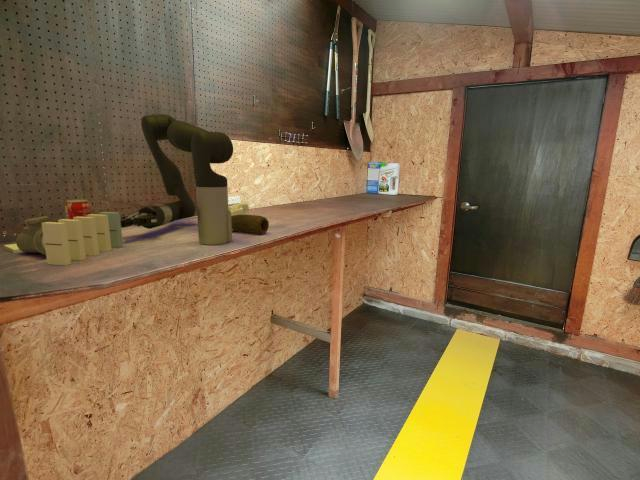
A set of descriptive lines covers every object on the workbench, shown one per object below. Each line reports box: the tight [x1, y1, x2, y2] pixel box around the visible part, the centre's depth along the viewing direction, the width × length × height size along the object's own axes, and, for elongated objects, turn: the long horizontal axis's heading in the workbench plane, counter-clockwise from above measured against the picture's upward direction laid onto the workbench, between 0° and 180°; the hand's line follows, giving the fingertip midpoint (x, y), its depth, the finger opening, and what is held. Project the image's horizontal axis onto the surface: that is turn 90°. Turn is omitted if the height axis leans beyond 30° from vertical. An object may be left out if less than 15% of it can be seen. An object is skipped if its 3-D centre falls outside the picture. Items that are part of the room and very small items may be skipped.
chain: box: [228, 202, 250, 216], centre depth 152 cm, size 30×6×6 cm, turn 160°
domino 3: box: [73, 217, 100, 257], centre depth 94 cm, size 2×5×10 cm, turn 81°
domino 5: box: [99, 211, 124, 249], centre depth 103 cm, size 2×5×10 cm, turn 82°
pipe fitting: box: [15, 215, 51, 256], centre depth 94 cm, size 12×8×10 cm
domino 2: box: [57, 218, 87, 261], centre depth 90 cm, size 2×5×10 cm, turn 81°
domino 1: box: [41, 221, 72, 266], centre depth 85 cm, size 2×5×10 cm, turn 81°
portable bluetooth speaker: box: [231, 214, 270, 235], centre depth 127 cm, size 15×7×7 cm, turn 65°
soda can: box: [64, 199, 93, 219], centre depth 113 cm, size 7×7×12 cm
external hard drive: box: [3, 243, 24, 254], centre depth 102 cm, size 2×8×12 cm
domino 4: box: [87, 213, 113, 253], centre depth 98 cm, size 2×5×10 cm, turn 81°
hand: (120, 224), depth 106 cm, fingers closed
